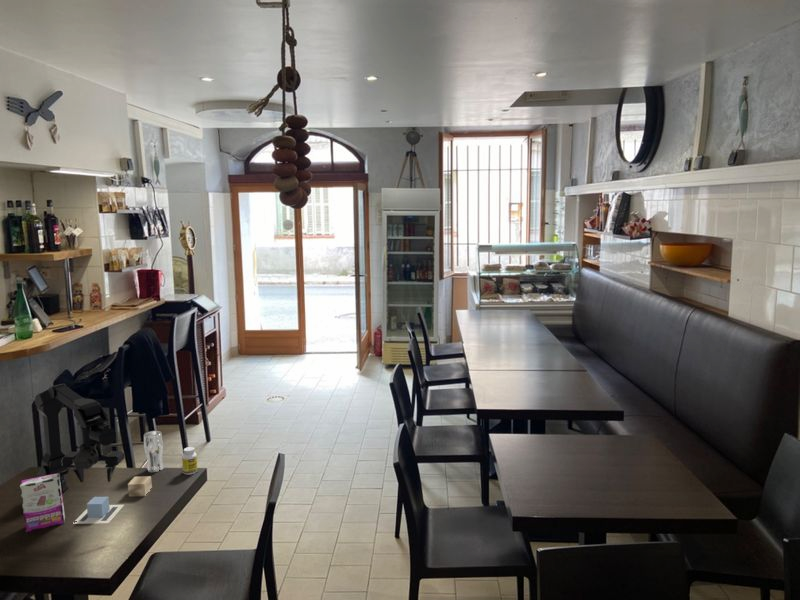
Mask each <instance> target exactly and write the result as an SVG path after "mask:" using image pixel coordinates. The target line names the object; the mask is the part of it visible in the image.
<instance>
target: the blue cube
mask: <svg viewBox="0 0 800 600" xmlns="http://www.w3.org/2000/svg"><path fill="white" fill-rule="evenodd" d="M109 505H110V500H109V496H93V497H92V498H91V499H90V500H89V501H88V502H87V503H86V509H87V512H88V518H103V517H104V516H105V515H106V514H107V512H108V511H109V510H110V507H109Z"/></svg>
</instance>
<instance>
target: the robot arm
mask: <svg viewBox="0 0 800 600" xmlns="http://www.w3.org/2000/svg"><path fill="white" fill-rule="evenodd" d="M34 405H35V406H36V410H37V411H38V412H39V413H40V414H41V415H42V420H43V421H42V422H43V432H44V433H43V434H44V444H45V454H44V455H43V457H42V458H41V465H40V466H41V467H40V469H39V470H38V472H37V473H36V476H37V477H42V476H46V475H52V474H57V473H59V475H60V483H61V490H62V494H64V492H66V491H67V490H68V489H69V486H68V485H67V479H66V478H65V475H67V474H69V471H70V470H69V469H71V470H72V471H73V472H74V473H75V475H76V477H77V478H78V480H79V482H80V483H83V482H85V472H84V470H88V469H90V468H91V467H92V466H93V465H95V464H97V462H101V461H102V462H104V463H105V464H106V465H105V466H104V467H105V469H106V477H107V482H108V483H110V482H111V481H112V478H113V474H114V472H115V469H116V467H117V465H119V464H120V463H122V461H124V460H125V458H126V457H125V453H124V451H122V450H112V451H110V453H108V454H104V453H105V449H103V446H105V447H106V446H110V445H112V444H113V443H114V441H115V440H116V437H117V432H116V431H115V429H114V428H111V427H110V425H109V424H108V423H106V422H109V418H108V414H107V413H106V411H105V410H104V408H103V406H102V405H101V403H99V401H98V400H95V399H92V398H85V397H83V396H81V395H80V394H78V393H77V392H75V391H74V390H72V389H71V388H70V387H69V386H68V384H66V383H60V384H56V385H53V386H52V385H51V386H50V387H49V388H48V389H46V390H45V391H43V392H40V393H38V394H37V395H36V396H35V397H34ZM64 405H65V406H67V407H68V408H69V409H71V410H72V411H73V417H74V418H75V419H76V421H78V422H76V423H77V426H79V427H80V437H81V444H80V445H79V451H70V452H68V453H67V454H65V453H64V452H63V451H62V441H61V427H60V418H59V417H60V412H61V411H62V409H63V407H64Z"/></svg>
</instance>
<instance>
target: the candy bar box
mask: <svg viewBox="0 0 800 600" xmlns="http://www.w3.org/2000/svg"><path fill="white" fill-rule="evenodd" d="M19 492H20V498H21V507H22V512H23V519H24V526H25V527H24V528H25V532H26V533H29V532H33V531H37V530H42V529H47V528H49V527H50V526H51V527H54V526H59V525H63V523H64V524H65V519H66V514H65V507H64V500H63V499H64V498H63V493H62V490H61V483H60V475H59V473H57V474H52V475H46V476H42V477H38V476H37V477H31V478H28V479H23V480H21V481H20V484H19ZM46 527H47V528H46ZM41 528H42V529H41ZM28 531H29V532H28Z"/></svg>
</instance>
